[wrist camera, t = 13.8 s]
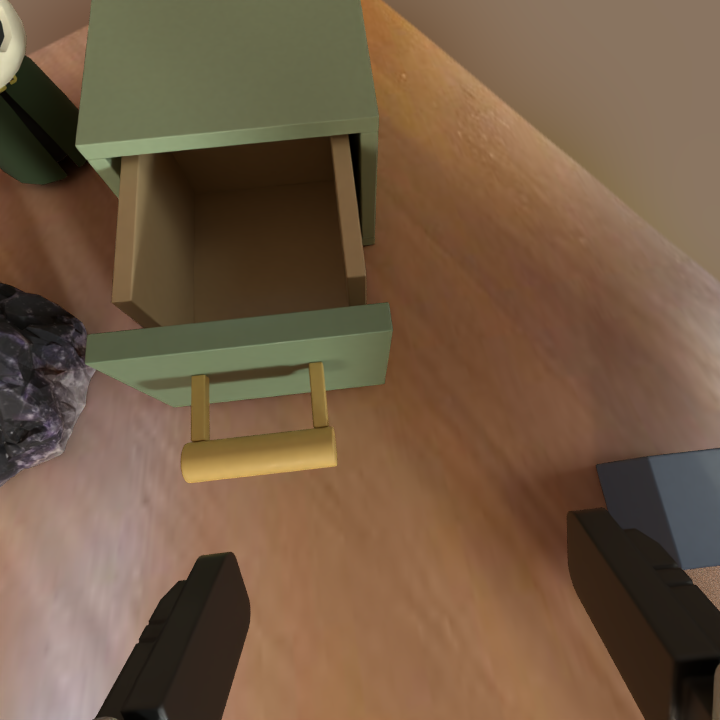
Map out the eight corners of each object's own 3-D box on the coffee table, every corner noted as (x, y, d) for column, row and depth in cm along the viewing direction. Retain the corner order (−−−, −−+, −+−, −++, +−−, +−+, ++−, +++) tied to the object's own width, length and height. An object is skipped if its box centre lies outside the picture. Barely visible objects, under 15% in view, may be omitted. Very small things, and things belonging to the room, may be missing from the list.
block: (678, 454, 23) (749, 444, 19) (708, 546, 22) (792, 557, 17) (594, 464, 23) (647, 456, 19) (619, 556, 22) (682, 570, 17)
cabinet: (374, 244, 27) (379, 116, 18) (173, 265, 27) (74, 146, 18) (350, 71, 32) (344, -102, 23) (177, 88, 32) (100, -81, 22)
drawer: (395, 467, 22) (410, 450, 15) (171, 492, 22) (72, 489, 15) (357, 179, 28) (354, 62, 20) (177, 198, 28) (108, 86, 20)
